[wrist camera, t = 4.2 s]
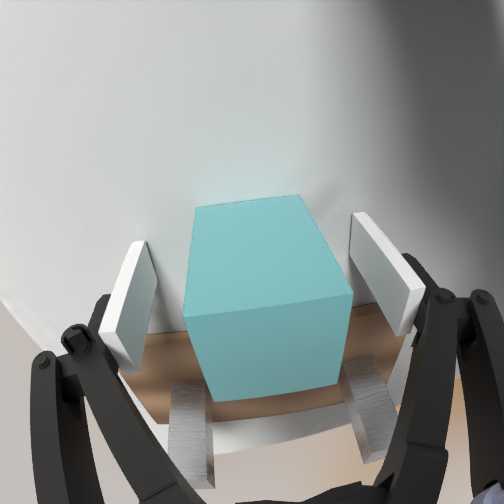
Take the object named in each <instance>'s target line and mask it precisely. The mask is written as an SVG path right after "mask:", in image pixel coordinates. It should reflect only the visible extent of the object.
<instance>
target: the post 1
mask: <svg viewBox="0 0 504 504" xmlns="http://www.w3.org/2000/svg"><path fill="white" fill-rule="evenodd" d="M168 456H169V458H170V459H171V460H172V462H173V463H174V464H175V466H176V467H177V469H178V470H179V471H180V473H181V474H182V475H183V476H184V478H185V479H186V480H187V482H188V483H189V484H190V485H191V487H192V488H193V489H214V488H215V477H214V458H213V457H214V456H213V432H212V398H211V396H210V393H209V391H208V388H207V386H206V383H205V381H203V382H190V383H174V384H172V386H171V400H170V416H169V435H168Z"/></svg>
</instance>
